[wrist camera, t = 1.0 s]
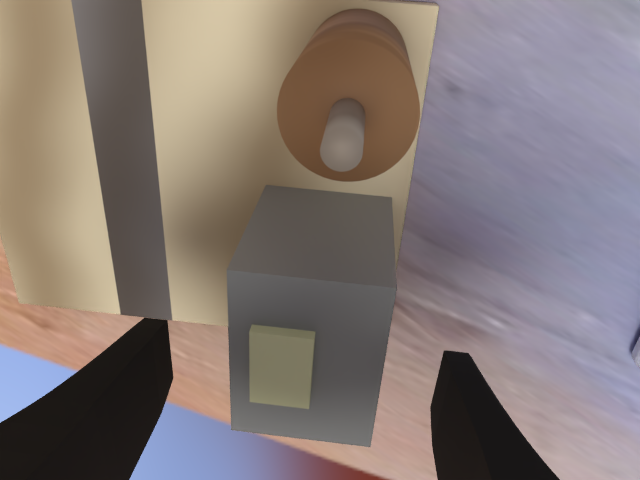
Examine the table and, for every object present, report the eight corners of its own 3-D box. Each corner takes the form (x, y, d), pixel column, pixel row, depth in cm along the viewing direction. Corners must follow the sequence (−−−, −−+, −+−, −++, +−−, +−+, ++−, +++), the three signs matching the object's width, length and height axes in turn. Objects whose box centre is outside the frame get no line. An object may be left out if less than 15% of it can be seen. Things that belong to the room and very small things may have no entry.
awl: (414, 13, 14) (442, 70, 8) (400, 117, 15) (414, 234, 9) (309, 4, 14) (256, 55, 8) (304, 108, 15) (256, 219, 9)
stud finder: (392, 197, 17) (397, 296, 12) (371, 333, 19) (370, 456, 15) (265, 184, 17) (223, 276, 12) (264, 321, 19) (228, 438, 15)
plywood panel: (436, 3, 14) (439, 6, 14) (384, 330, 20) (384, 344, 19) (-53, -36, 15) (-74, -35, 14) (30, 291, 21) (19, 302, 20)
